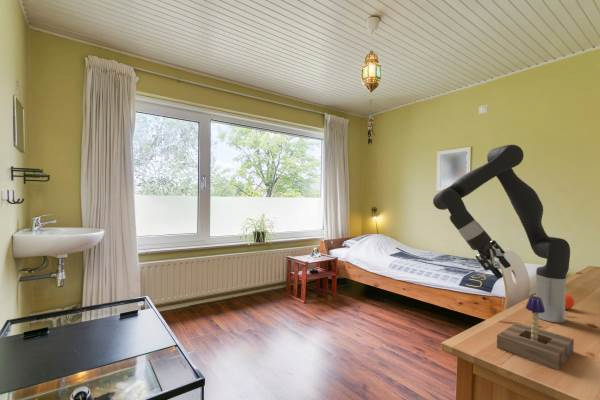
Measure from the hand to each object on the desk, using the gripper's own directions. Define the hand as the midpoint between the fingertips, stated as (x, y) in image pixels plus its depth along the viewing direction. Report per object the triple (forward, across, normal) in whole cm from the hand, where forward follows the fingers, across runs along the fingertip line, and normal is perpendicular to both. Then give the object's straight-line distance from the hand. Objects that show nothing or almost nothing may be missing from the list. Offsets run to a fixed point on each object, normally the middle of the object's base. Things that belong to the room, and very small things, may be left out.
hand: (504, 272), depth 107 cm
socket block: (+21, -14, +1) cm, 25 cm away
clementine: (+36, +43, +13) cm, 58 cm away
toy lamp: (+21, -14, +1) cm, 25 cm away
